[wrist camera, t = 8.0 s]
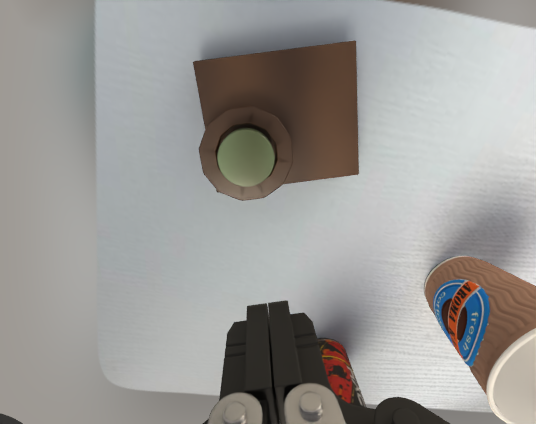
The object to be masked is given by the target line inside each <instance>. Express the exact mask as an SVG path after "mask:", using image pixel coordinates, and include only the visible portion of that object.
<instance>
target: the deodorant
mask: <svg viewBox="0 0 536 424" xmlns="http://www.w3.org/2000/svg"><path fill="white" fill-rule="evenodd" d="M317 340H318V345H319V348H320V351H321V355H322V358H323V362H324V366H325V369H326V373H327V377H328V380H329V383H330V386H331V388H332V389H333V391H334V392H335V393H336V394H337V395H338V396H339V397H340V398H341V399H343V400H344V401H346V402H348V403H350V404H352V405H356V406H360V407H366V405H365V402H364V399H363V397H362V394H361V391H360V389H359V386H358V383H357V381H356V378H355V375H354V372H353V370H352V367H351V364H350V362H349V359H348V356H347V354H346V351H345V349H344V348H343V346H342V345H341V344H340V343H338V342H337V341H334V340H332V339H326V338H323V339H317ZM366 408H367V407H366Z"/></svg>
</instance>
